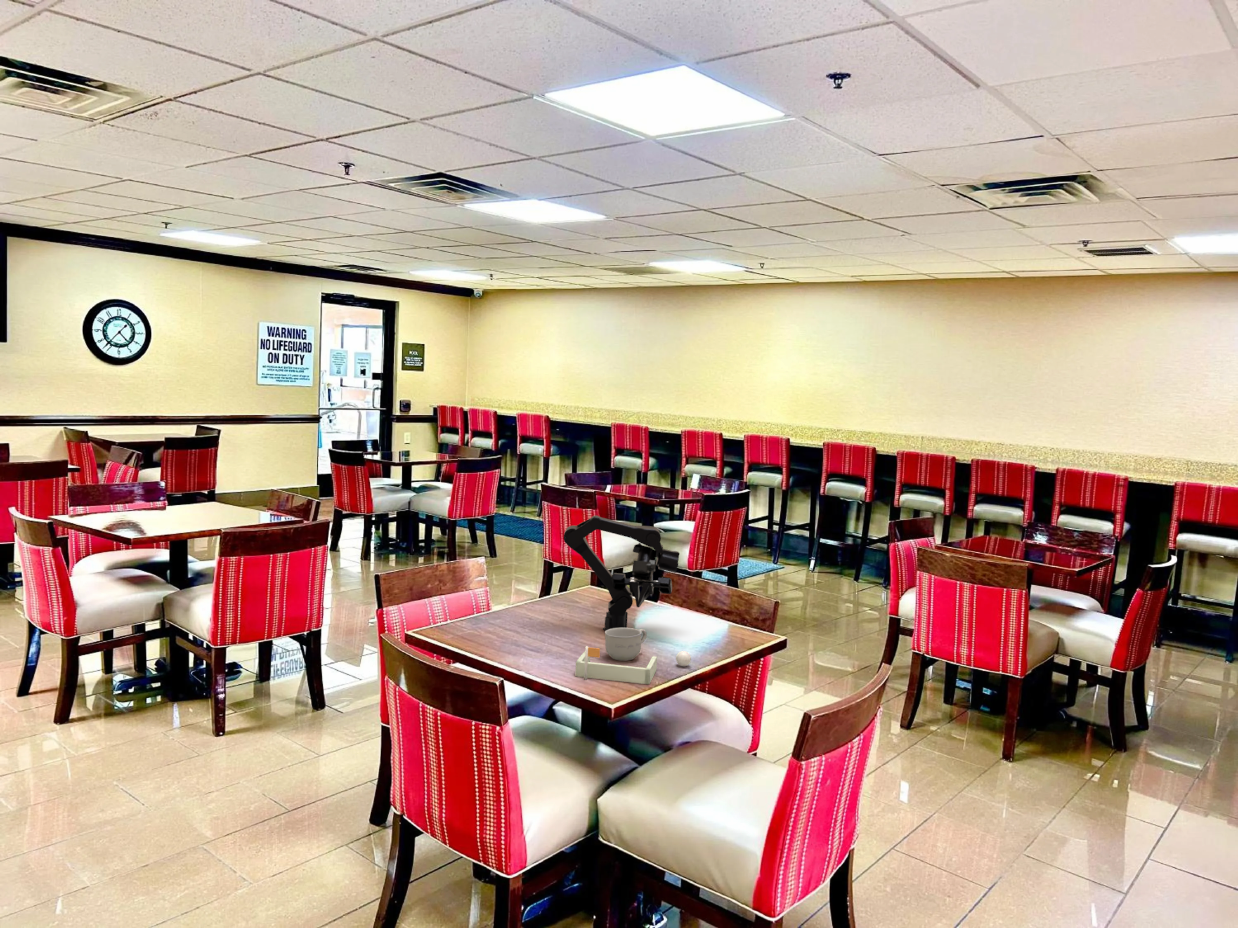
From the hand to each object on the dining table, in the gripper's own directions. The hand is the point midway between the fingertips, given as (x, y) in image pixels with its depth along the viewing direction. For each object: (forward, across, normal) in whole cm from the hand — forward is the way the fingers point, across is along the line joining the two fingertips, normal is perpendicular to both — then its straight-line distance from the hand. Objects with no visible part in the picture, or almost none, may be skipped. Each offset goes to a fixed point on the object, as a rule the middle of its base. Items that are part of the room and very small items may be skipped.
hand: (637, 606), depth 270 cm
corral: (+30, 0, -13) cm, 32 cm away
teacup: (+18, 0, -2) cm, 18 cm away
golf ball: (+19, +17, -5) cm, 26 cm away
